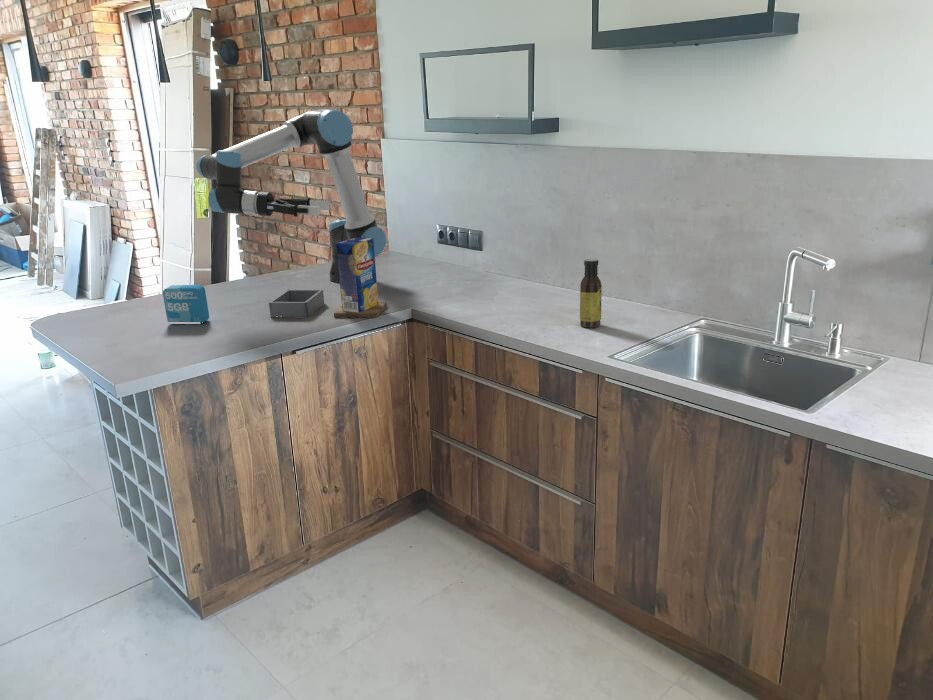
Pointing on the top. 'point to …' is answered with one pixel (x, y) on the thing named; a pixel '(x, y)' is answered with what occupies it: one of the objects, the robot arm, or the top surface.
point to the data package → (186, 303)
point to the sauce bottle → (590, 295)
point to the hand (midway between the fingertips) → (324, 208)
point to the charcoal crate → (296, 303)
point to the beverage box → (357, 274)
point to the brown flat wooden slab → (369, 312)
